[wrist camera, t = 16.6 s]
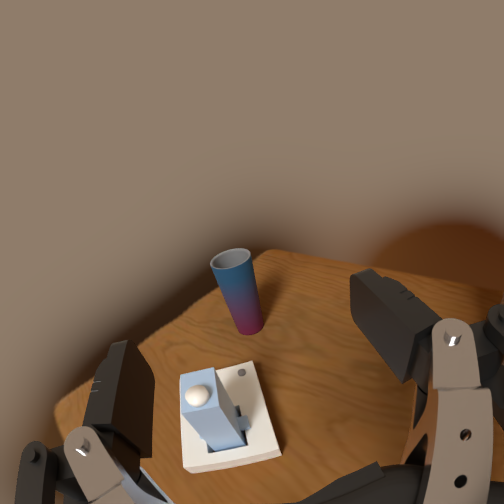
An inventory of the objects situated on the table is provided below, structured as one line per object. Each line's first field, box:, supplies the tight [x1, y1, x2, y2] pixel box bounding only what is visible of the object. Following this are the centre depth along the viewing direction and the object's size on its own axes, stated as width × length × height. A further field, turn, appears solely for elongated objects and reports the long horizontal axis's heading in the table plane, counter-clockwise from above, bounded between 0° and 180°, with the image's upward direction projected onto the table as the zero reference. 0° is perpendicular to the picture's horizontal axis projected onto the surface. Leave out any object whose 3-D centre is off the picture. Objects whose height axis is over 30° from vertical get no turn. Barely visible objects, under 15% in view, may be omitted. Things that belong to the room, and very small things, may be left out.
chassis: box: [180, 361, 282, 473], centre depth 33 cm, size 16×12×3 cm
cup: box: [210, 248, 264, 335], centre depth 48 cm, size 7×7×15 cm
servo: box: [180, 367, 251, 452], centre depth 28 cm, size 6×7×13 cm
